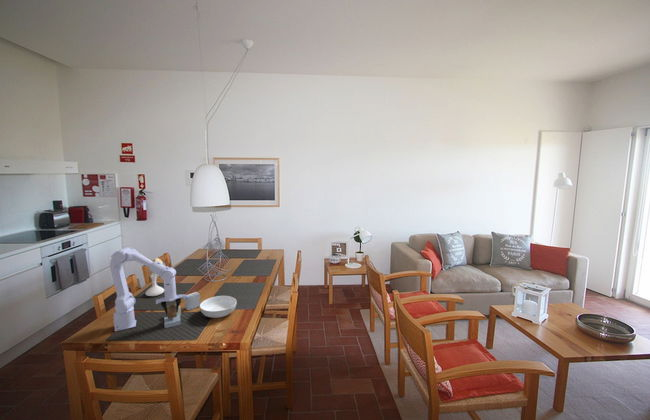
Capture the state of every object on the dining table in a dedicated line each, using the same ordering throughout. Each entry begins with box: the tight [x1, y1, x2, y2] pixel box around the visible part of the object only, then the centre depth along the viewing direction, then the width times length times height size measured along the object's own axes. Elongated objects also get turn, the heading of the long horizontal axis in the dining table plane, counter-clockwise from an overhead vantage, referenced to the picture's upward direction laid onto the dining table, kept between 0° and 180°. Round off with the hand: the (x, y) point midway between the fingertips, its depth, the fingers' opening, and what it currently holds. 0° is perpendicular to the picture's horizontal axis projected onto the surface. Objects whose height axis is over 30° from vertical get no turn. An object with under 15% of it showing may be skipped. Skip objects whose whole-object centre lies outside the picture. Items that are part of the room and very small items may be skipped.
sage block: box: [177, 305, 182, 317], centre depth 176 cm, size 4×4×6 cm
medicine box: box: [184, 291, 201, 311], centre depth 186 cm, size 8×4×9 cm, turn 141°
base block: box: [163, 314, 182, 329], centre depth 168 cm, size 8×8×3 cm
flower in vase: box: [145, 257, 165, 297], centre depth 204 cm, size 13×11×25 cm
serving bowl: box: [199, 295, 237, 319], centre depth 179 cm, size 21×21×7 cm
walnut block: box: [166, 303, 177, 319], centre depth 167 cm, size 4×4×6 cm
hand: (171, 312), depth 167 cm, fingers closed on walnut block, 4 cm apart
